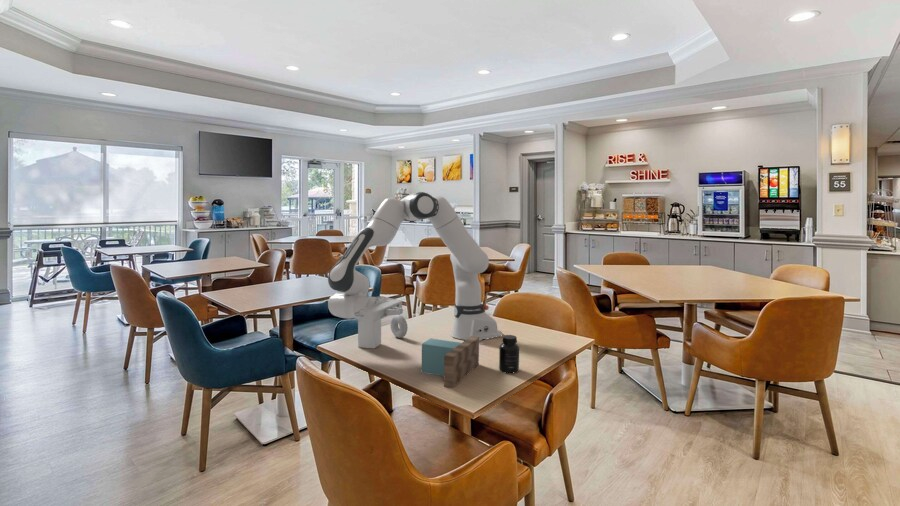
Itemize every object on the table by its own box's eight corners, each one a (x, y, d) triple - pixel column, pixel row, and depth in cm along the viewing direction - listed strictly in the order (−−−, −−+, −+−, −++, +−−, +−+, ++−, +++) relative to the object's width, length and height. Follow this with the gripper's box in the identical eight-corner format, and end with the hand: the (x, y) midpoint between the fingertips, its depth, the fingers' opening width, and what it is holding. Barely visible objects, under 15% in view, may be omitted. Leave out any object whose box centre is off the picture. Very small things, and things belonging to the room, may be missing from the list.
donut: (388, 335, 202) (388, 313, 201) (395, 334, 204) (395, 312, 203) (402, 341, 194) (402, 317, 193) (409, 339, 197) (409, 316, 196)
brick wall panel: (470, 363, 168) (471, 336, 167) (478, 364, 167) (479, 337, 166) (443, 386, 146) (444, 355, 145) (452, 388, 145) (453, 356, 144)
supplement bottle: (497, 367, 165) (498, 333, 163) (516, 366, 165) (517, 333, 164) (501, 374, 158) (501, 339, 156) (520, 373, 158) (521, 339, 157)
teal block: (421, 372, 159) (421, 343, 158) (430, 366, 165) (430, 338, 164) (454, 377, 154) (454, 348, 153) (461, 371, 160) (462, 342, 159)
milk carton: (375, 348, 183) (374, 301, 181) (358, 347, 185) (357, 300, 183) (381, 343, 190) (381, 297, 188) (364, 342, 192) (364, 297, 190)
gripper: (351, 306, 162) (385, 309, 156) (381, 295, 180) (413, 297, 175) (351, 323, 162) (386, 327, 157) (382, 311, 181) (414, 314, 176)
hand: (401, 311), depth 166 cm, fingers closed
